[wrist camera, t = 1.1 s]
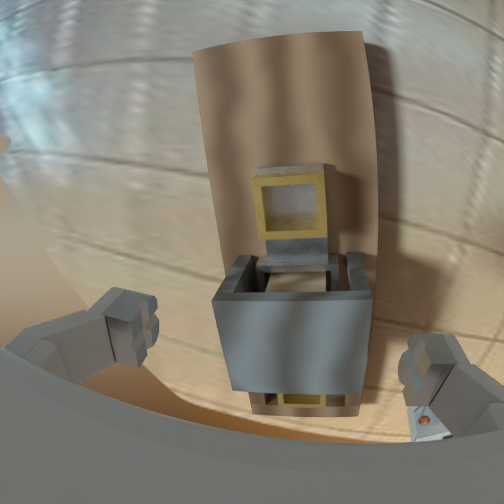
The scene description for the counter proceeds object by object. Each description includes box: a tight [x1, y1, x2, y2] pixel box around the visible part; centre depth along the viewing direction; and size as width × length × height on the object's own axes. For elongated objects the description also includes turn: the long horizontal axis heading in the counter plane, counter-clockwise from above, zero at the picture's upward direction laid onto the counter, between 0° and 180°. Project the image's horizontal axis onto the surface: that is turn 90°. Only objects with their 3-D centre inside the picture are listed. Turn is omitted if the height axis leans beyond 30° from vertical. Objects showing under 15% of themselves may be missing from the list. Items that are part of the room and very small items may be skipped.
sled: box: [251, 163, 339, 408], centre depth 35 cm, size 9×32×4 cm, turn 8°
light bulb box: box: [407, 406, 454, 442], centre depth 40 cm, size 11×7×11 cm, turn 107°
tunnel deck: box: [192, 31, 378, 417], centre depth 33 cm, size 18×54×14 cm, turn 8°
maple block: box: [265, 271, 326, 292], centre depth 34 cm, size 6×9×6 cm, turn 7°
